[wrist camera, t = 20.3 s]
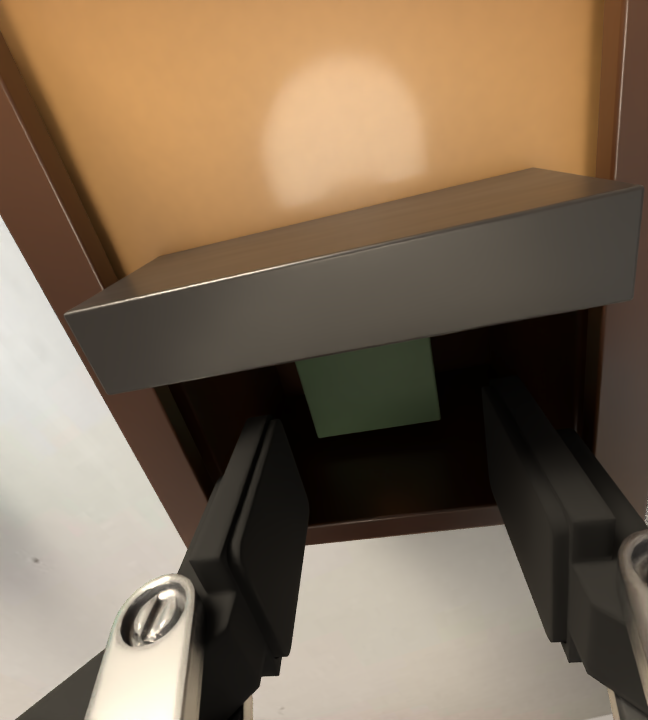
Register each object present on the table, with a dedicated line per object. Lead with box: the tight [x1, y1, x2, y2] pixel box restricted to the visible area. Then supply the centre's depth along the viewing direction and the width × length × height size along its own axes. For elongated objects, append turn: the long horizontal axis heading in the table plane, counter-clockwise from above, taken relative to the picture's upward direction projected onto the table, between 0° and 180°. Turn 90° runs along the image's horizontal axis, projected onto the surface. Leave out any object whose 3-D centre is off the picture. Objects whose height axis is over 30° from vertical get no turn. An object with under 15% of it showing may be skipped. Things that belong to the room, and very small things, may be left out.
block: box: [295, 337, 441, 438], centre depth 14 cm, size 4×4×4 cm
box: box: [0, 0, 648, 549], centre depth 11 cm, size 13×10×9 cm
